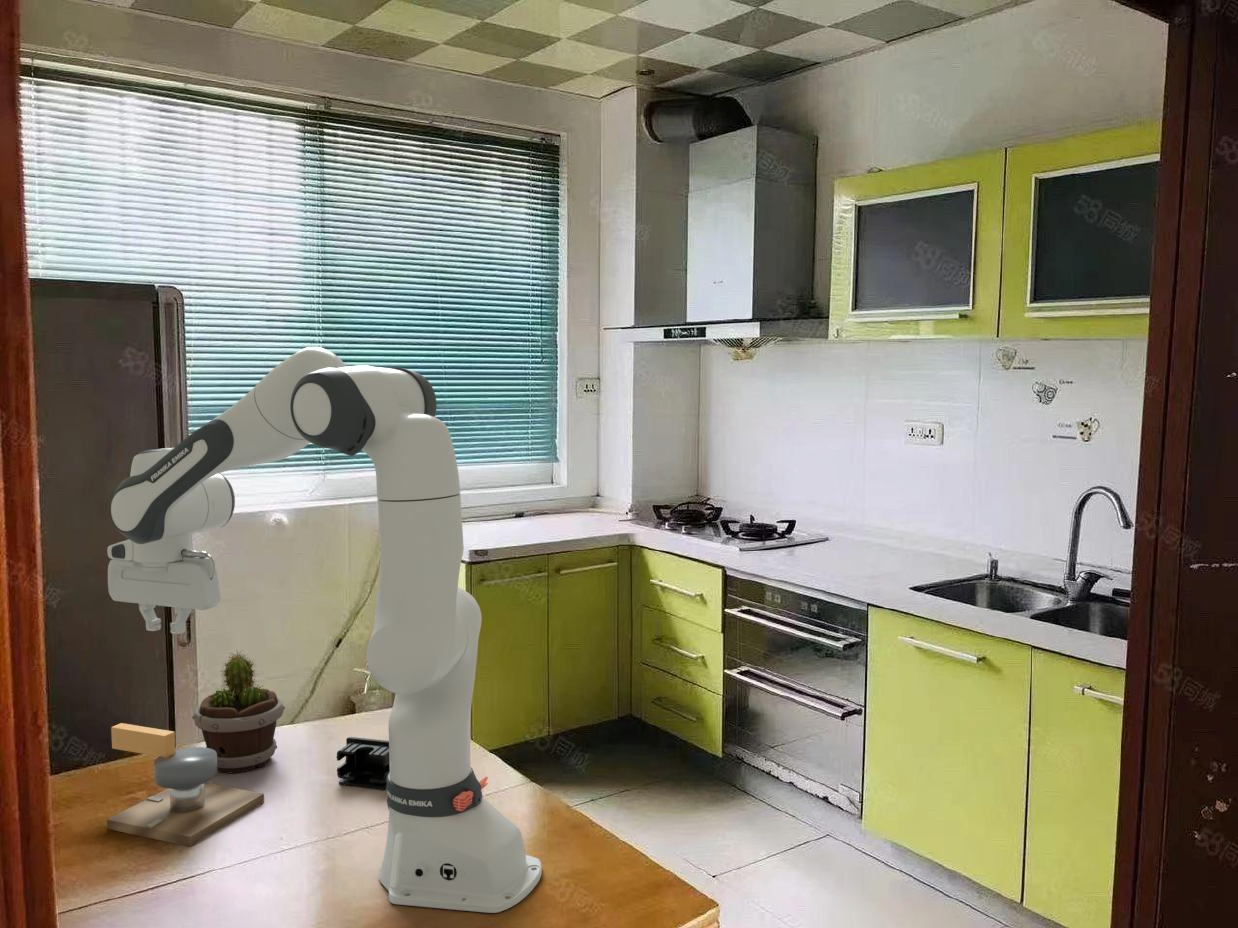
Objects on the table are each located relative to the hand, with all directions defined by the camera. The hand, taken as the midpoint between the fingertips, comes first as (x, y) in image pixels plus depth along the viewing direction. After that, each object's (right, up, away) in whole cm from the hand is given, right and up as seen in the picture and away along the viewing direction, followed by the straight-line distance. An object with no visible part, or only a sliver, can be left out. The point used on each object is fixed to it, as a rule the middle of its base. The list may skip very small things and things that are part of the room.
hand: (165, 631), depth 163 cm
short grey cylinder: (+6, -26, -6) cm, 28 cm away
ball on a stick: (+2, -21, -5) cm, 22 cm away
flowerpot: (+7, -26, +15) cm, 31 cm away
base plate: (+6, -28, -6) cm, 29 cm away
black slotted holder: (+32, -27, +8) cm, 42 cm away
